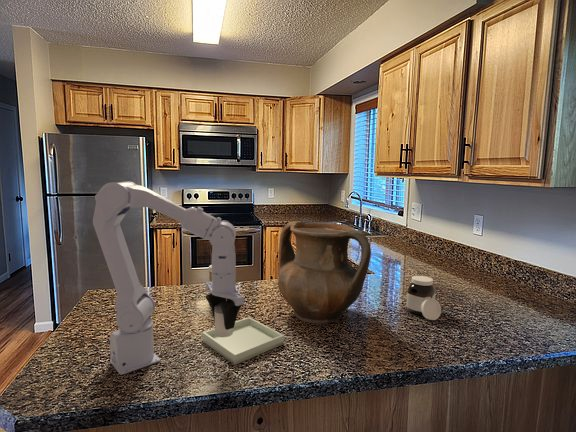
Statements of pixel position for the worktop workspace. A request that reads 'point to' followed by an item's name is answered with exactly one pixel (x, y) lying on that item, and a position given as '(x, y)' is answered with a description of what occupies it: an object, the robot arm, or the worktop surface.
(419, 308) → the spread jar
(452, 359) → the worktop surface
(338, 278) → the jug
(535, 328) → the worktop surface
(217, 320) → the cylinder
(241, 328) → the tray
